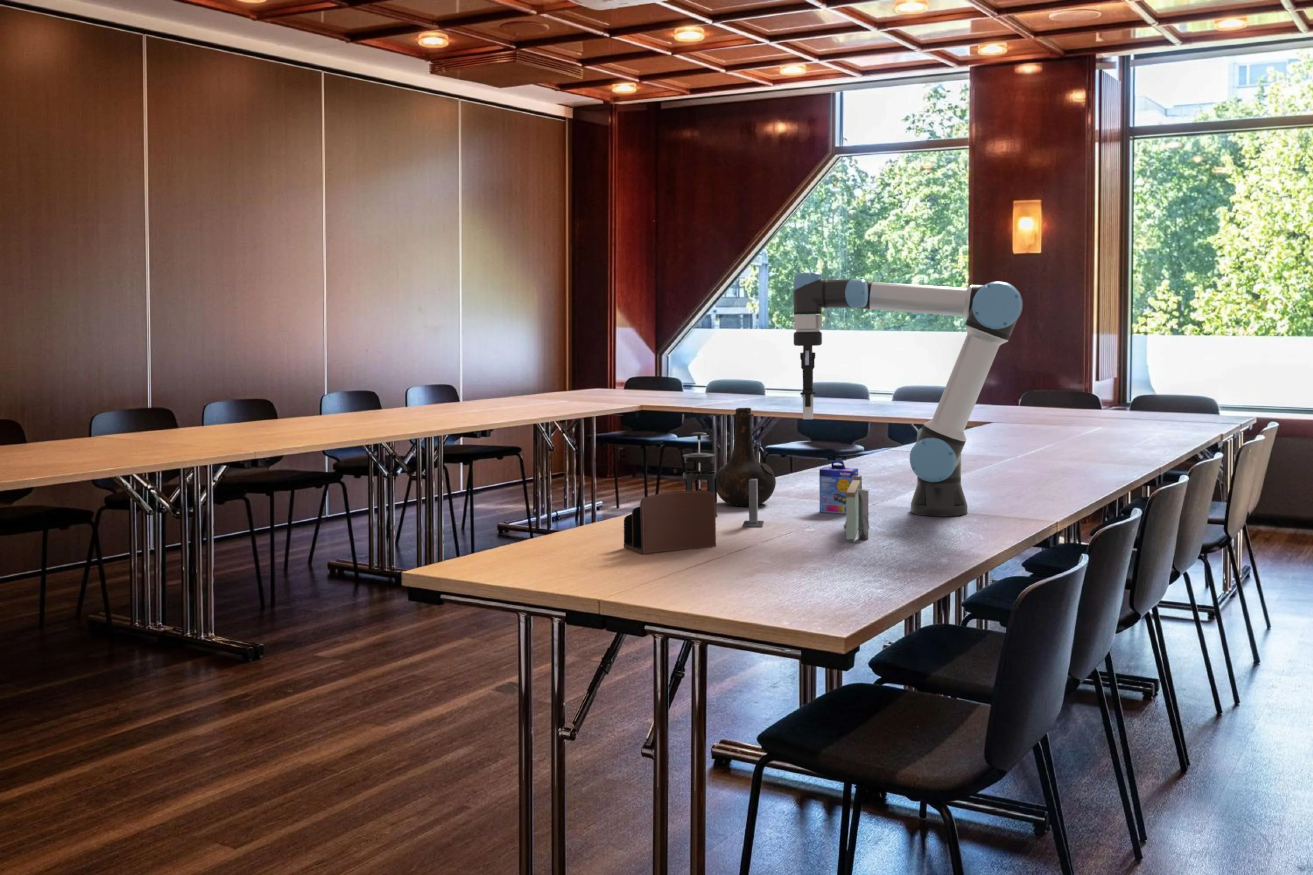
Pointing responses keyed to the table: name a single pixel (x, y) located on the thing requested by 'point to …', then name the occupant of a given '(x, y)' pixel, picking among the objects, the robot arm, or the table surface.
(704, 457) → the french press
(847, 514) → the gate
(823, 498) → the ink cartridge box
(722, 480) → the dark brown vase
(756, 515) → the pair of grey posts
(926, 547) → the table surface
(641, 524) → the letter holder
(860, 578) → the table surface
